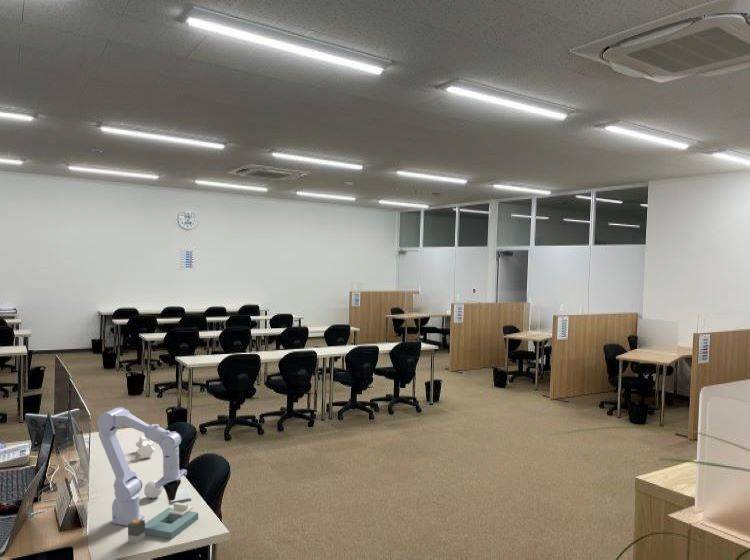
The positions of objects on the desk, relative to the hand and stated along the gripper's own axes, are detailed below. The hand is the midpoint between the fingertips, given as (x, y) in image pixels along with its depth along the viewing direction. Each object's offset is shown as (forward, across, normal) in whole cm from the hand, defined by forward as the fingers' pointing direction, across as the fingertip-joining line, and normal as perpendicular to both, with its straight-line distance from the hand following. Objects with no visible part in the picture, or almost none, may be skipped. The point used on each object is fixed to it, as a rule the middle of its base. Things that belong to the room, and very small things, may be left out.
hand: (171, 499), depth 208 cm
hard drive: (+10, +19, +15) cm, 26 cm away
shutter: (+6, +5, 0) cm, 8 cm away
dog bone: (+10, +50, +67) cm, 84 cm away
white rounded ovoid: (+10, +15, +24) cm, 30 cm away
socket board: (+9, -2, -1) cm, 10 cm away
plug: (+9, -14, +3) cm, 17 cm away
